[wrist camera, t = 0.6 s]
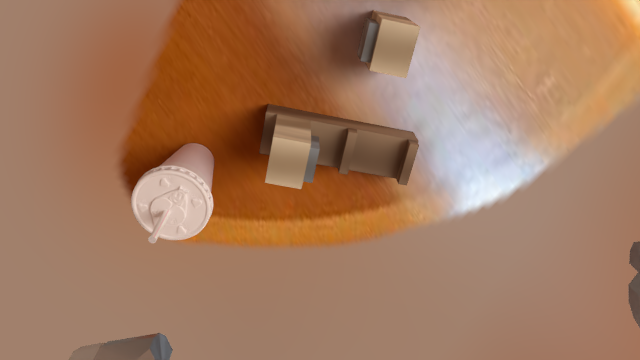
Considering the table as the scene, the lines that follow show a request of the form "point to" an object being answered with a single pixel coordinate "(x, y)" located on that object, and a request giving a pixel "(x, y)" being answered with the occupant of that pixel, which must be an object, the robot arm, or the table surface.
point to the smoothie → (176, 195)
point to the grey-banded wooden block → (388, 43)
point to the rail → (332, 147)
